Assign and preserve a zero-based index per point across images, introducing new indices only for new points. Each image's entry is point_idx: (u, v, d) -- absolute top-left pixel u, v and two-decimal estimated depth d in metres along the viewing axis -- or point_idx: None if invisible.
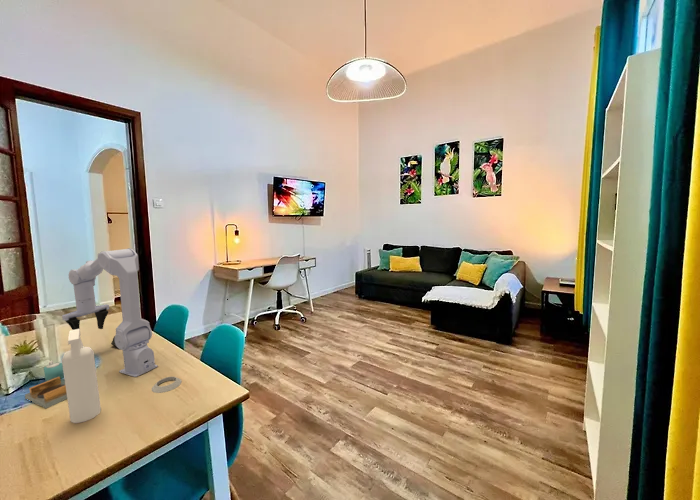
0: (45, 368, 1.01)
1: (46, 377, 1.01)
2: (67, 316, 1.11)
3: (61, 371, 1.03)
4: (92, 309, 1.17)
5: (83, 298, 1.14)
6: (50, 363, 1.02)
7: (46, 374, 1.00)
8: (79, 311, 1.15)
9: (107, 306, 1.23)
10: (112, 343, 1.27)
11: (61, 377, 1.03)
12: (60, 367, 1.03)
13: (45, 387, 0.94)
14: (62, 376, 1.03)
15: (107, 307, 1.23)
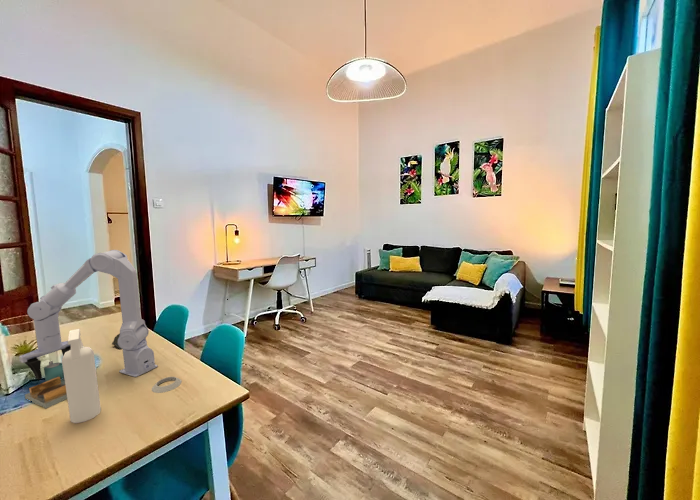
0: (45, 368, 1.01)
1: (46, 377, 1.01)
2: (25, 357, 0.95)
3: (61, 371, 1.03)
4: (56, 347, 1.01)
5: (53, 333, 1.00)
6: (50, 363, 1.02)
7: (46, 374, 1.00)
8: (40, 350, 0.99)
9: None
10: (113, 343, 1.27)
11: (61, 377, 1.03)
12: (60, 367, 1.03)
13: (45, 387, 0.94)
14: (62, 376, 1.03)
15: None
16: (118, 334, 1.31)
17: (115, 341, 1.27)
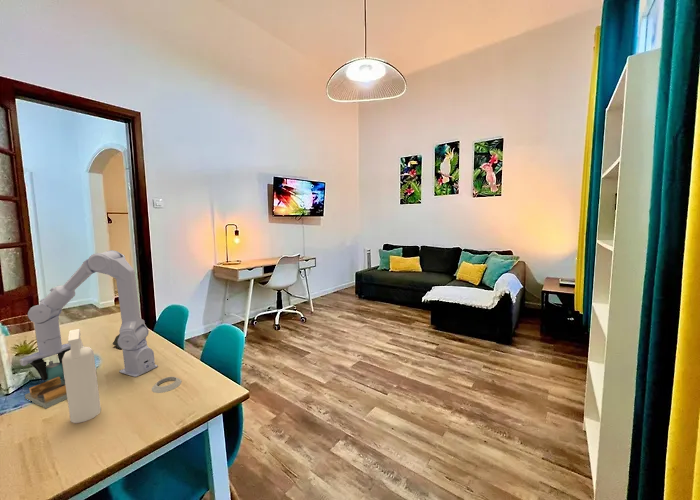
0: None
1: None
2: (26, 360, 0.95)
3: (61, 371, 1.03)
4: (57, 350, 1.01)
5: (53, 336, 1.00)
6: (50, 363, 1.02)
7: None
8: (41, 353, 0.99)
9: None
10: (113, 343, 1.27)
11: (61, 377, 1.03)
12: (60, 367, 1.03)
13: (45, 387, 0.94)
14: (62, 376, 1.03)
15: None
16: (119, 334, 1.31)
17: (116, 341, 1.27)
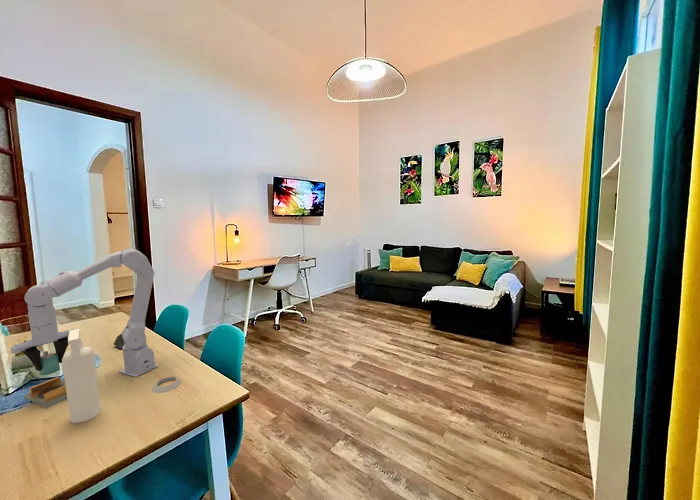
0: None
1: None
2: (17, 348, 0.86)
3: (56, 363, 0.94)
4: (52, 337, 0.92)
5: (53, 321, 0.92)
6: (45, 353, 0.93)
7: None
8: (35, 341, 0.89)
9: None
10: (114, 343, 1.27)
11: (56, 369, 0.94)
12: (55, 358, 0.93)
13: (45, 387, 0.94)
14: (57, 368, 0.94)
15: None
16: (120, 334, 1.31)
17: (116, 341, 1.27)
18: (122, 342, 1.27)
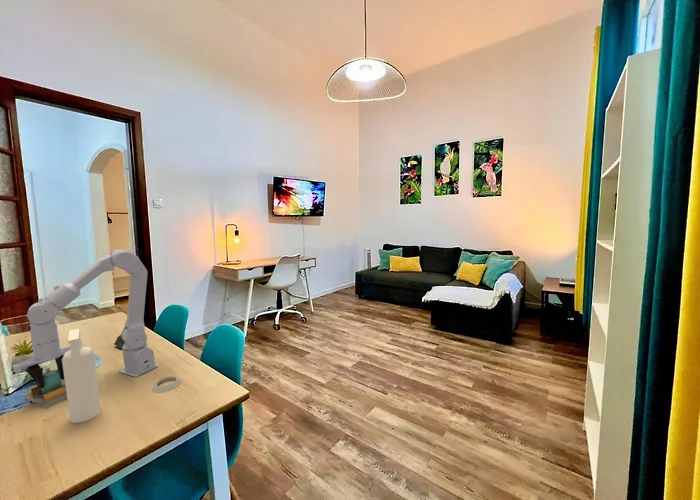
0: None
1: None
2: (19, 367, 0.86)
3: (58, 380, 0.93)
4: (54, 354, 0.91)
5: (56, 337, 0.92)
6: (47, 370, 0.93)
7: None
8: (37, 358, 0.89)
9: None
10: (115, 343, 1.27)
11: (58, 386, 0.93)
12: (57, 375, 0.93)
13: None
14: (59, 385, 0.93)
15: None
16: None
17: (117, 341, 1.27)
18: (122, 342, 1.27)
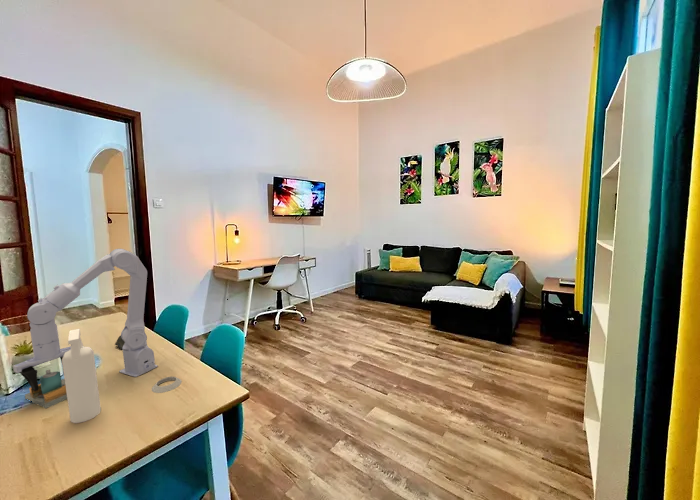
0: (41, 378, 0.91)
1: (42, 388, 0.91)
2: (20, 367, 0.86)
3: (58, 381, 0.93)
4: (54, 355, 0.91)
5: (56, 338, 0.92)
6: (47, 372, 0.93)
7: (42, 385, 0.91)
8: (37, 358, 0.89)
9: None
10: (116, 344, 1.26)
11: None
12: (57, 377, 0.93)
13: None
14: None
15: None
16: None
17: (118, 342, 1.27)
18: (123, 342, 1.27)
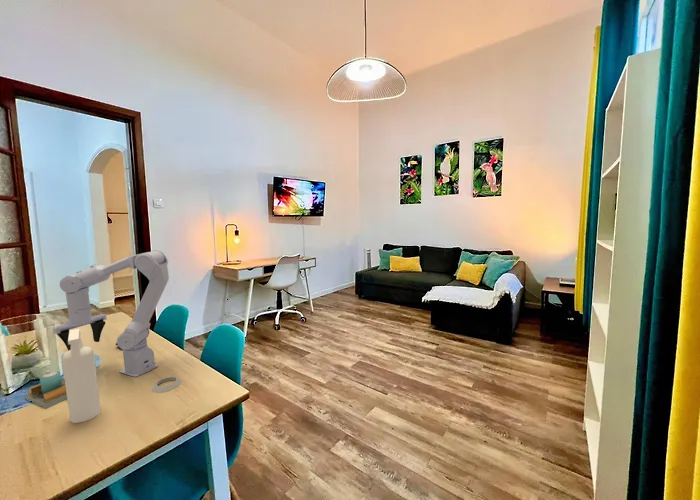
0: (41, 378, 0.91)
1: (42, 388, 0.91)
2: (58, 329, 0.98)
3: (58, 381, 0.93)
4: (87, 320, 1.03)
5: (83, 307, 1.02)
6: (47, 372, 0.93)
7: (42, 384, 0.91)
8: (72, 323, 1.01)
9: (104, 316, 1.10)
10: (116, 344, 1.26)
11: None
12: (57, 377, 0.93)
13: None
14: None
15: (104, 317, 1.10)
16: None
17: None
18: None
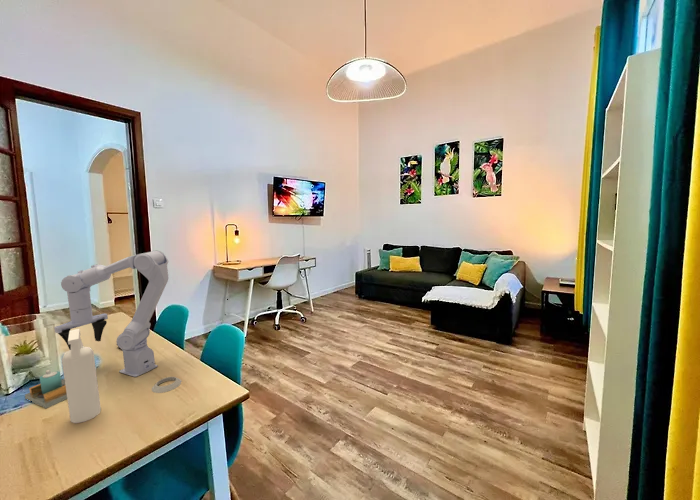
0: (41, 378, 0.91)
1: (42, 388, 0.91)
2: (60, 328, 0.98)
3: (58, 381, 0.93)
4: (88, 319, 1.04)
5: (84, 306, 1.03)
6: (47, 372, 0.93)
7: (42, 384, 0.91)
8: (74, 322, 1.02)
9: (105, 315, 1.10)
10: None
11: None
12: (57, 377, 0.93)
13: None
14: None
15: (105, 317, 1.10)
16: None
17: None
18: None
